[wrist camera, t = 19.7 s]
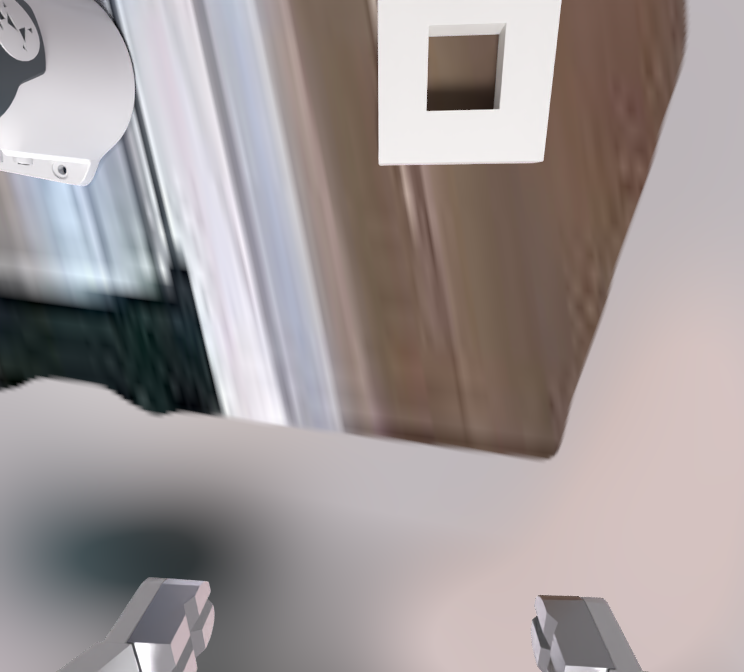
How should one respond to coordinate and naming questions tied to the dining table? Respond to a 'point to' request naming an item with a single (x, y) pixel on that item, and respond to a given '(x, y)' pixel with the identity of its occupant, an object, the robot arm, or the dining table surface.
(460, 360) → the dining table surface
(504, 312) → the dining table surface
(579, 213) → the dining table surface
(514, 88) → the pocket plate
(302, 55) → the dining table surface
